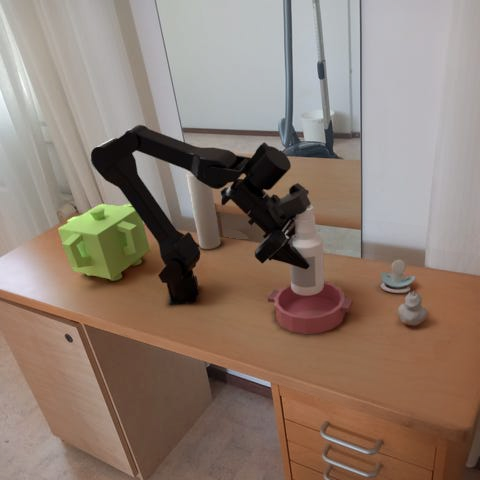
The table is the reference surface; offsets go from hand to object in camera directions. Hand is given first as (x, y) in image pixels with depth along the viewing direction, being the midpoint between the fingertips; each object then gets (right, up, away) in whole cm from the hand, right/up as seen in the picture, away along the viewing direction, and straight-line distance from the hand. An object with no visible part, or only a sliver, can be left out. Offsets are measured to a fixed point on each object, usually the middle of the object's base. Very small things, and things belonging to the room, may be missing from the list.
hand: (313, 259), depth 98 cm
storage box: (-49, +2, +37) cm, 62 cm away
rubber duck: (+20, -13, +1) cm, 24 cm away
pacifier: (+20, -5, +12) cm, 24 cm away
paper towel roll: (-23, +9, +42) cm, 48 cm away
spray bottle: (0, -6, +5) cm, 7 cm away
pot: (+1, -11, +8) cm, 13 cm away
